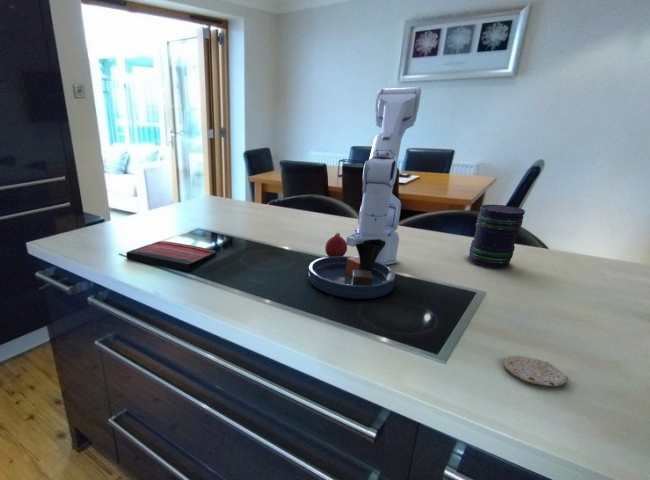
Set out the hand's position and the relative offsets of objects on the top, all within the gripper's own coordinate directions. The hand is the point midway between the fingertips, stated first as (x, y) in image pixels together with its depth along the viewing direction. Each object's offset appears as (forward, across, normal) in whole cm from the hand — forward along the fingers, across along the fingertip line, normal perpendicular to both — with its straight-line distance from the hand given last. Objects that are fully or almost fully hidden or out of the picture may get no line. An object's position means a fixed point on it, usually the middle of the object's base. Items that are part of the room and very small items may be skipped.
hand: (366, 269), depth 93 cm
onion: (+4, -6, -14) cm, 16 cm away
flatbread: (+3, +8, +38) cm, 39 cm away
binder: (+4, +30, -43) cm, 52 cm away
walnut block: (+3, +5, +3) cm, 7 cm away
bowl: (+3, +3, -2) cm, 5 cm away
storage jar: (+4, -39, +10) cm, 41 cm away
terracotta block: (+3, -1, -3) cm, 4 cm away
